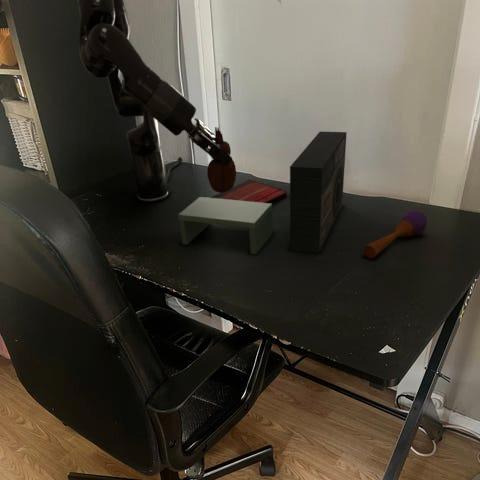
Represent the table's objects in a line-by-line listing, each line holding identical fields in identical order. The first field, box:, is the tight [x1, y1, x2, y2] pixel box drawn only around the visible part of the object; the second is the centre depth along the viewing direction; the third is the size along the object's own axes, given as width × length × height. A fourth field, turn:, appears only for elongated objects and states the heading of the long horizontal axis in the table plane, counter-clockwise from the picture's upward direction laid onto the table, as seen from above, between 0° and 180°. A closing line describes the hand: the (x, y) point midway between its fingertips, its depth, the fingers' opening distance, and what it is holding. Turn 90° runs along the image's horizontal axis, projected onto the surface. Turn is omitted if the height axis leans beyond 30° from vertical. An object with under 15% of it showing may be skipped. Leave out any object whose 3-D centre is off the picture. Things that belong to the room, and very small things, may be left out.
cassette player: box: [289, 131, 347, 254], centre depth 120 cm, size 29×7×20 cm, turn 160°
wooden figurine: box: [206, 126, 237, 193], centre depth 111 cm, size 7×6×15 cm
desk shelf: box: [177, 196, 274, 255], centre depth 121 cm, size 12×20×8 cm, turn 67°
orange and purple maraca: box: [363, 209, 428, 260], centre depth 113 cm, size 6×6×20 cm
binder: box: [208, 179, 287, 205], centre depth 143 cm, size 16×2×21 cm
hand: (228, 158), depth 112 cm, fingers closed on wooden figurine, 5 cm apart
